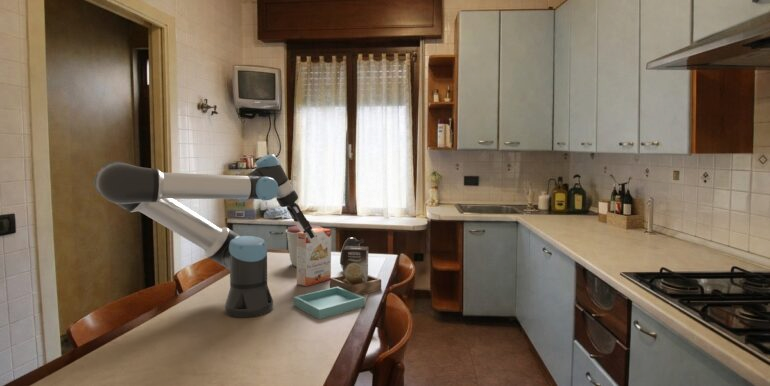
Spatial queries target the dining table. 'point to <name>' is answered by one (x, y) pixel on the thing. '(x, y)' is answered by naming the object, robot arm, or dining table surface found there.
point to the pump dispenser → (349, 242)
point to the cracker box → (313, 258)
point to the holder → (357, 285)
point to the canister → (295, 241)
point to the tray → (329, 302)
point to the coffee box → (355, 265)
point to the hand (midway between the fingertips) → (310, 238)
